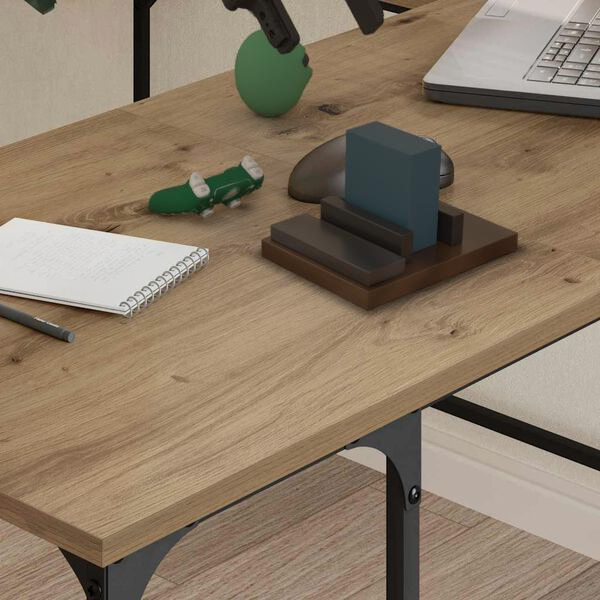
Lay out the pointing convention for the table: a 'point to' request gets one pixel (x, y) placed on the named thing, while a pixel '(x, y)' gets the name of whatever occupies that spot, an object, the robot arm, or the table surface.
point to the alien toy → (270, 75)
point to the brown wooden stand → (381, 250)
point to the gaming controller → (209, 191)
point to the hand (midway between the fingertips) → (334, 38)
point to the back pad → (395, 178)
